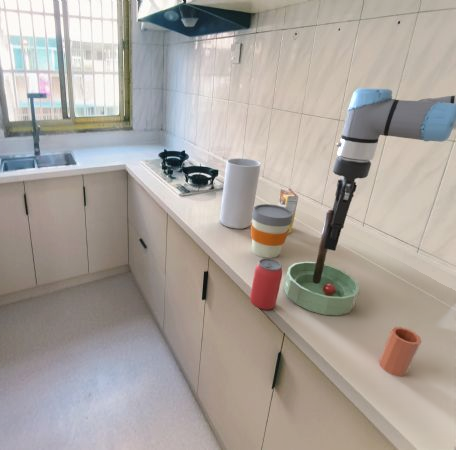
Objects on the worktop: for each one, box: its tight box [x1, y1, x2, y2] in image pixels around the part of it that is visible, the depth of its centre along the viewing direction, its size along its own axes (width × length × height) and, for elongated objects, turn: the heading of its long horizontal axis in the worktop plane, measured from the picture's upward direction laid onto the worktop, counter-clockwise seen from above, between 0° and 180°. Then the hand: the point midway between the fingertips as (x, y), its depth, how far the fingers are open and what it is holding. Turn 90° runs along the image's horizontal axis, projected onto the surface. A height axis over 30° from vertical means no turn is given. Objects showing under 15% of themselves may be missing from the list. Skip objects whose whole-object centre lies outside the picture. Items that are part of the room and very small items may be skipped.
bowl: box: [283, 261, 360, 317], centre depth 91 cm, size 17×17×6 cm
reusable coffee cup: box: [250, 203, 292, 259], centre depth 112 cm, size 12×13×15 cm
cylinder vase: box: [219, 157, 262, 230], centre depth 132 cm, size 12×12×25 cm
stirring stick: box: [313, 208, 334, 284], centre depth 90 cm, size 2×2×22 cm
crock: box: [378, 326, 422, 377], centre depth 68 cm, size 5×5×9 cm
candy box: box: [277, 188, 299, 234], centre depth 130 cm, size 9×4×15 cm, turn 177°
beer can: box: [249, 257, 283, 311], centre depth 87 cm, size 7×7×12 cm
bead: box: [323, 284, 336, 296], centre depth 92 cm, size 3×3×3 cm
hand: (329, 246), depth 89 cm, fingers closed on stirring stick, 2 cm apart
